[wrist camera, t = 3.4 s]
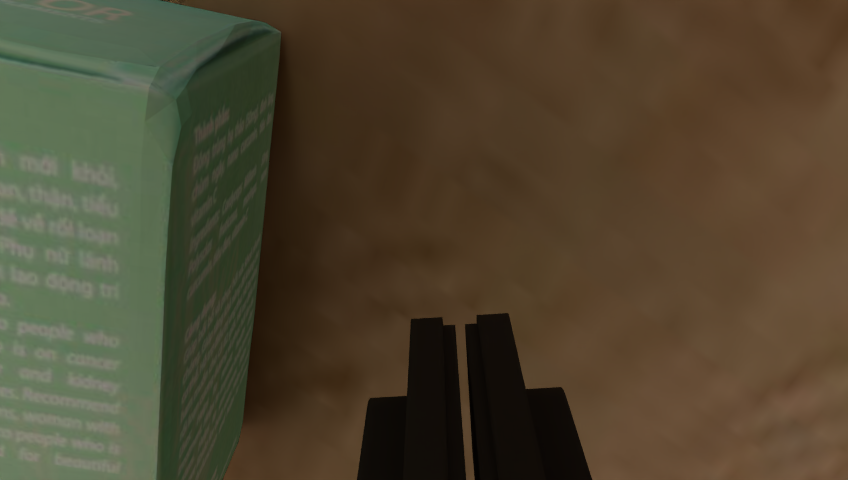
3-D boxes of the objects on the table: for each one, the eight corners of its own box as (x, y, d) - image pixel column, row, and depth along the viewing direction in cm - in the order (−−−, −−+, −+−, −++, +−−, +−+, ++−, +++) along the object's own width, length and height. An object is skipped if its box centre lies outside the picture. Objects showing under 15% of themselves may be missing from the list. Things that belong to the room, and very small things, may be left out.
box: (290, 12, 14) (168, 68, 8) (248, 430, 20) (156, 671, 13) (-28, -58, 14) (-463, -62, 7) (23, 394, 20) (-191, 627, 13)
